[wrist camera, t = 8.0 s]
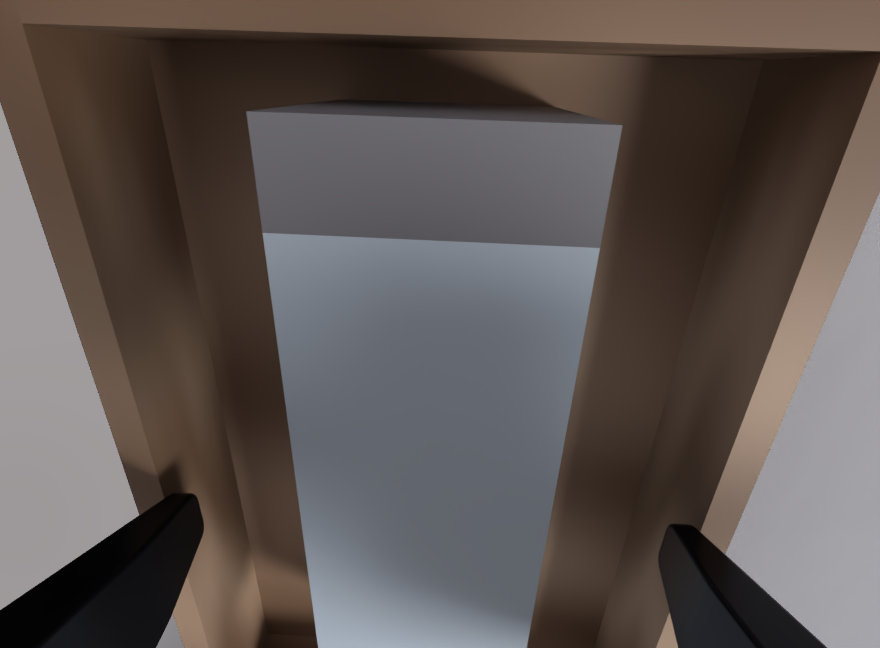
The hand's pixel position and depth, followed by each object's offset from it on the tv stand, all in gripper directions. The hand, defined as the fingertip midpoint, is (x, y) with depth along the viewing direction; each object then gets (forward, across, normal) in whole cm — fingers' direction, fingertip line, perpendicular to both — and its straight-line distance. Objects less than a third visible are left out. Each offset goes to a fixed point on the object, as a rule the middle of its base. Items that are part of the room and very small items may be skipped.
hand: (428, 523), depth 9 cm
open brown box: (+3, 0, 0) cm, 3 cm away
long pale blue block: (+2, 0, 0) cm, 2 cm away
